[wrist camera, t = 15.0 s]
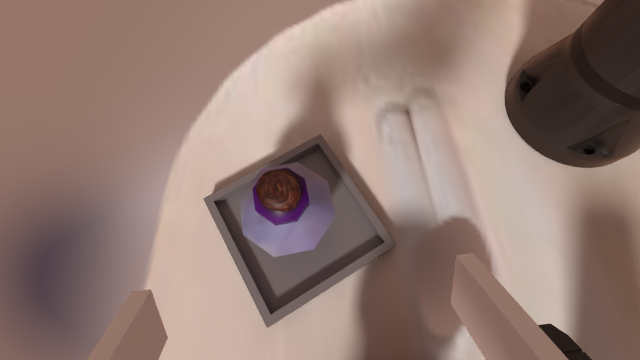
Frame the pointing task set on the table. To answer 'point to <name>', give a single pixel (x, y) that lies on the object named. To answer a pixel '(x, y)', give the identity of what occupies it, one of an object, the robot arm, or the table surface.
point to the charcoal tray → (308, 266)
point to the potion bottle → (286, 209)
